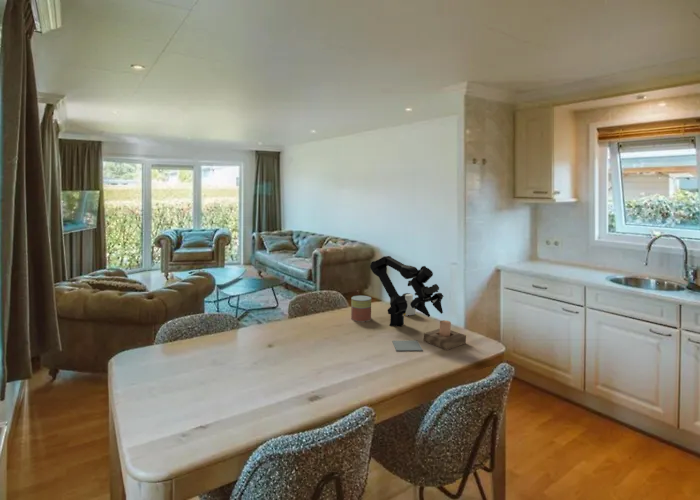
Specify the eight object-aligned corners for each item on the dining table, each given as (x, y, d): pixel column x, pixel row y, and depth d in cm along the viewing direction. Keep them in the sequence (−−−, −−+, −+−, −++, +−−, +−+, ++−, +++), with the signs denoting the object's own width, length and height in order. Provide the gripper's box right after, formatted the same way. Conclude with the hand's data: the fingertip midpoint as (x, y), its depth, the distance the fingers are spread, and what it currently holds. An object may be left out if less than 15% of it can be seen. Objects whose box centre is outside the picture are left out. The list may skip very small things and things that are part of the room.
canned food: (374, 317, 239) (375, 297, 238) (364, 323, 230) (364, 301, 228) (357, 314, 245) (357, 294, 244) (347, 319, 236) (347, 298, 234)
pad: (392, 341, 202) (392, 340, 202) (417, 341, 202) (417, 340, 202) (396, 351, 190) (396, 350, 190) (422, 351, 190) (422, 349, 190)
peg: (438, 343, 200) (439, 323, 199) (439, 339, 205) (440, 320, 204) (449, 344, 199) (450, 324, 197) (450, 341, 203) (451, 321, 202)
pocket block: (423, 341, 203) (423, 333, 202) (442, 335, 212) (443, 327, 211) (446, 349, 192) (446, 341, 192) (465, 343, 201) (466, 335, 200)
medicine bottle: (398, 312, 250) (399, 293, 248) (408, 311, 253) (409, 291, 251) (405, 316, 243) (405, 295, 242) (415, 314, 246) (416, 294, 245)
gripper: (415, 281, 201) (432, 309, 194) (441, 276, 212) (458, 302, 205) (403, 294, 208) (419, 321, 201) (428, 289, 220) (444, 314, 212)
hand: (435, 314), depth 205 cm, fingers open, 9 cm apart
